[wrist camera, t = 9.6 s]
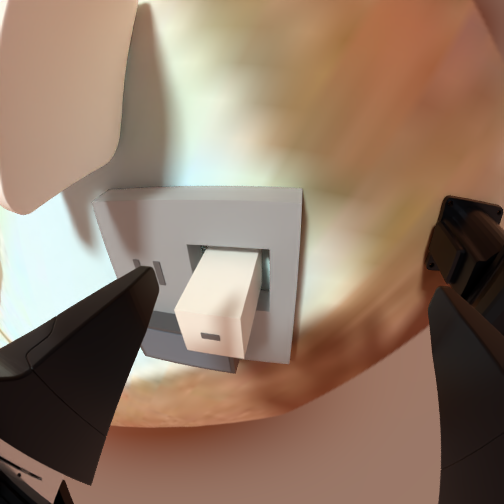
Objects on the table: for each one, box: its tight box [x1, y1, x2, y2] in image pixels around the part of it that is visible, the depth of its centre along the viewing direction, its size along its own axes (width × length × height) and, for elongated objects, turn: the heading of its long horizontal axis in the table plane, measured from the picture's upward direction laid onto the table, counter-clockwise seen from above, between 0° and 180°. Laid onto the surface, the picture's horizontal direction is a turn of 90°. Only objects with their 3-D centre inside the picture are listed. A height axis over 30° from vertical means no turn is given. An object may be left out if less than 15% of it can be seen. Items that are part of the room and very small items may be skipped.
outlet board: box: [92, 186, 302, 364], centre depth 24 cm, size 16×17×3 cm
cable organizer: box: [0, 0, 138, 215], centre depth 11 cm, size 15×11×12 cm
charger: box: [174, 246, 262, 359], centre depth 20 cm, size 4×4×8 cm
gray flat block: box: [140, 310, 240, 374], centre depth 25 cm, size 10×6×2 cm, turn 92°
